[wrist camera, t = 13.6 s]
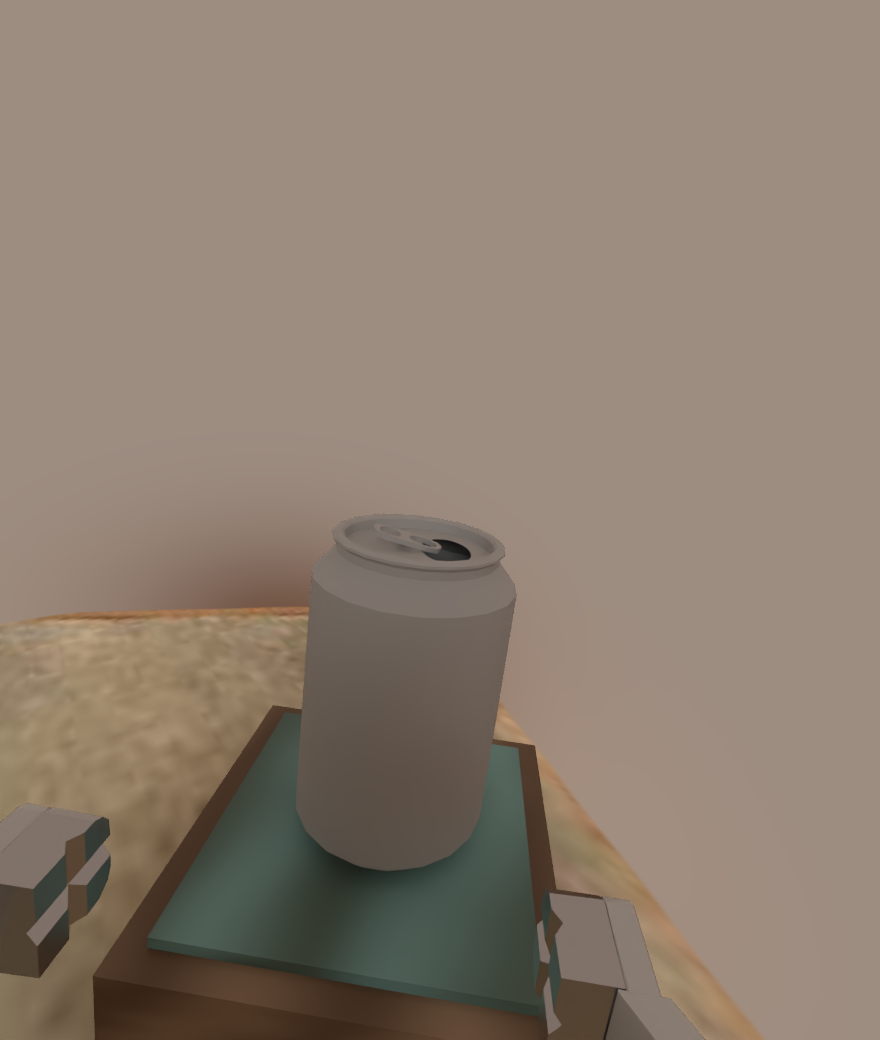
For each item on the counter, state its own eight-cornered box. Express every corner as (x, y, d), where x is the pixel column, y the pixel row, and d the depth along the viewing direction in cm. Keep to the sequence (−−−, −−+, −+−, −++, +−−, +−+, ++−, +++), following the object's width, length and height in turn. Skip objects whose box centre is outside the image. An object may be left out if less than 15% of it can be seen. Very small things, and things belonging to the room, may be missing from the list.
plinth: (96, 1077, 17) (92, 965, 16) (269, 769, 30) (273, 698, 29) (557, 1163, 16) (585, 1053, 15) (522, 809, 30) (536, 739, 29)
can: (492, 894, 19) (549, 575, 17) (275, 888, 19) (297, 552, 16) (465, 755, 27) (502, 516, 24) (309, 746, 26) (328, 498, 23)
